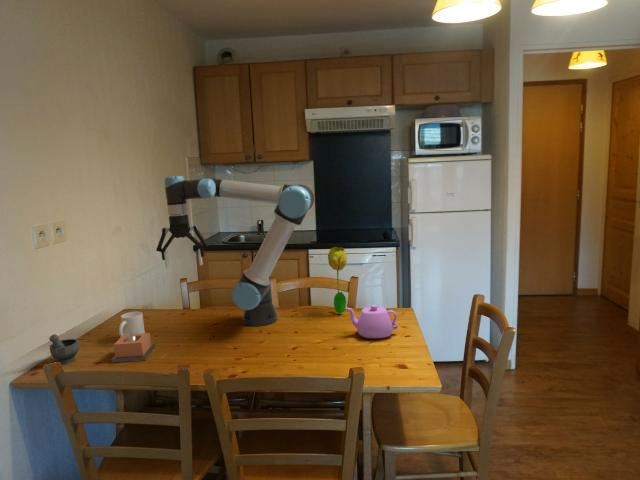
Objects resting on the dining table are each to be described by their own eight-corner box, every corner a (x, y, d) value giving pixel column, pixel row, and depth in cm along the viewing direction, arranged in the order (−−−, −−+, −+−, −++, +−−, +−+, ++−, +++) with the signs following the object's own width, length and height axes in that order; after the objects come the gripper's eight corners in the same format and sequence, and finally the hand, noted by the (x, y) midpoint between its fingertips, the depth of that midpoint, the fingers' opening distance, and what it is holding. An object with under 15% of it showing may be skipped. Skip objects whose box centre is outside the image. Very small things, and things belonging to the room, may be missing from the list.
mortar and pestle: (62, 356, 184) (58, 326, 182) (86, 355, 183) (81, 325, 181) (43, 368, 173) (38, 336, 171) (68, 368, 172) (63, 336, 170)
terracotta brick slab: (151, 345, 185) (149, 332, 185) (143, 355, 176) (141, 342, 175) (125, 347, 185) (123, 334, 184) (115, 357, 175) (113, 344, 174)
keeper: (154, 347, 187) (152, 329, 185) (145, 360, 175) (142, 340, 174) (123, 350, 186) (121, 331, 185) (111, 363, 174) (109, 343, 173)
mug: (129, 346, 190) (126, 321, 188) (112, 345, 193) (109, 320, 191) (149, 335, 201) (146, 311, 199) (133, 334, 204) (130, 310, 202)
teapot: (397, 328, 192) (396, 299, 190) (399, 340, 179) (398, 310, 177) (347, 329, 194) (345, 301, 192) (345, 341, 181) (344, 311, 179)
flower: (330, 312, 217) (326, 247, 212) (347, 310, 218) (344, 245, 213) (332, 318, 209) (328, 250, 204) (351, 316, 209) (347, 249, 205)
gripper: (210, 211, 199) (216, 261, 202) (149, 216, 197) (156, 266, 200) (208, 213, 191) (213, 265, 195) (144, 218, 190) (151, 270, 193)
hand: (184, 266), depth 197 cm, fingers open, 13 cm apart
